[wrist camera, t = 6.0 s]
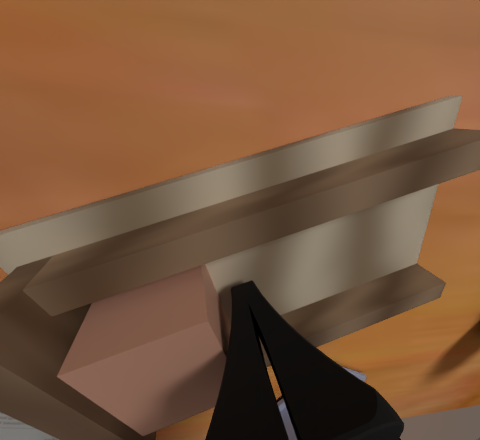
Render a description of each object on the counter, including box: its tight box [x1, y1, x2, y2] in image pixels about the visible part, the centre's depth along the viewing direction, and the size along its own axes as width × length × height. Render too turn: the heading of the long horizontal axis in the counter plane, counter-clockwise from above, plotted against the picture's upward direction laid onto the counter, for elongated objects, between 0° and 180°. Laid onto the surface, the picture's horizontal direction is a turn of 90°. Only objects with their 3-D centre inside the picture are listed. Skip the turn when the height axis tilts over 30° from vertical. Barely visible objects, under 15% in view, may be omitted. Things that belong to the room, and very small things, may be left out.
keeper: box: [57, 264, 231, 436], centre depth 10 cm, size 5×6×4 cm
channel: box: [0, 95, 480, 440], centre depth 11 cm, size 22×14×5 cm, turn 104°
